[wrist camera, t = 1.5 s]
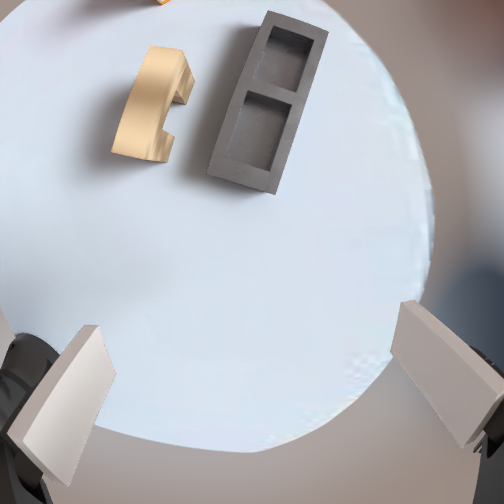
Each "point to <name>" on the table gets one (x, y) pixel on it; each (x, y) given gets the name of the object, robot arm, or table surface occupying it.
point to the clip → (153, 104)
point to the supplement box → (162, 1)
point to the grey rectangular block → (268, 103)
